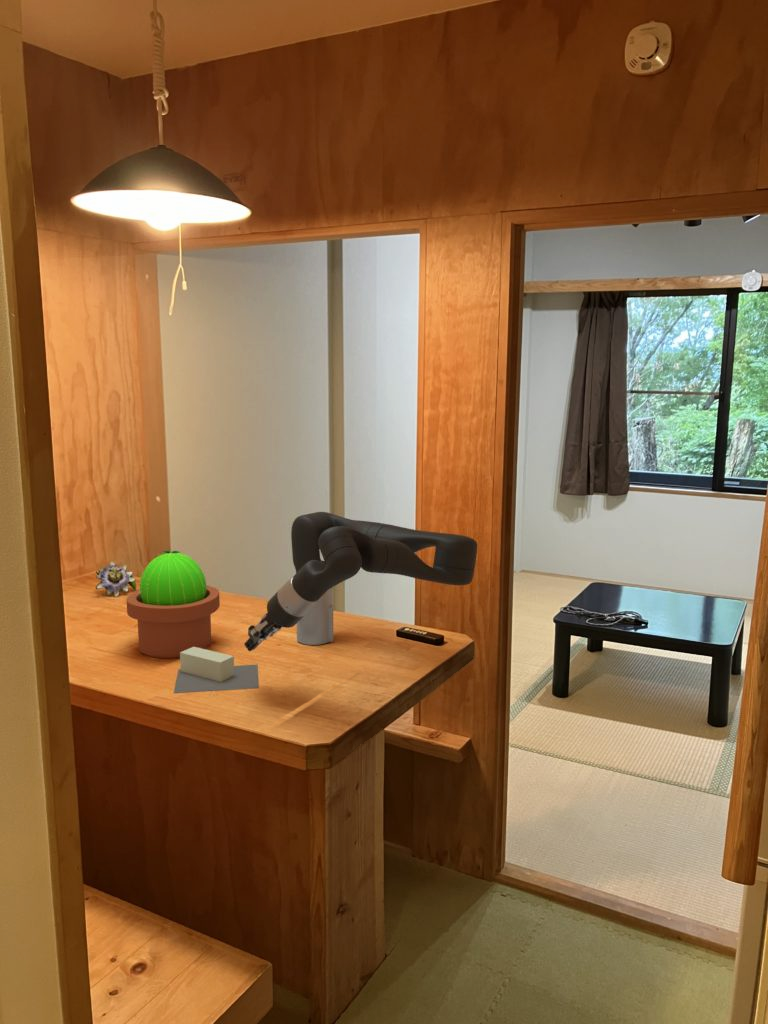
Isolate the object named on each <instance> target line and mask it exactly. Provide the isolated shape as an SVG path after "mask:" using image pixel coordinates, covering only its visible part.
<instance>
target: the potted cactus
mask: <svg viewBox="0 0 768 1024" xmlns="http://www.w3.org/2000/svg"><path fill="white" fill-rule="evenodd" d="M161 553H162V554H160V553H157V555H158V556H157V557H155V556H152V557H153V559H152V560H151V561H149V562H148V565H147V566H144V570H143V572H142V573H141V577H140V580H139V583H138V585H139V589H136V590H135V591H132V593H130V594H129V595H128V596H127V597H126V613H127V616H129V618H132V619H134V620H137V632H138V633H137V634H138V635H137V636H138V637H137V638H138V649H139V651H140V652H141V654H143V655H145V656H148V657H153V658H160V659H177V658H178V659H180V652H182V651H185V650H187V649H189V648H192V647H197V648H202V649H206V648H209V647H210V646H211V644H212V619H211V615H212V614H214V613H216V612H217V610H219V608H220V604H221V602H220V600H221V599H220V591H219V589H217V588H216V587H215V586H211V585H207V581H206V577H205V575H204V574H205V572H204V570H203V569H202V568H201V563H198V562H196V560H194V557H193V558H192V557H191V556H190V555H187V554H184V553H182V551H178V550H172V551H170V550H163V551H161Z"/></svg>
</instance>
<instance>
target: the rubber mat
mask: <svg viewBox="0 0 768 1024" xmlns="http://www.w3.org/2000/svg"><path fill="white" fill-rule="evenodd" d="M259 683H260V682H259V666H258V664H257V663H256V664H244V665H243V664H242V665H234V676H232V677H230V678H228V679H226V680H224V681H222V682H220V681H216V680H212V679H208V678H204V677H201V676H197V675H193V674H189V673H185V672H182V671H181V668H178V669H177V675H176V680H175V685H174V689H173V694H185V693H187V694H188V693H201V692H202V693H204V692H205V693H206V692H219V691H234V690H237V691H238V690H248V689H249V690H250V689H254V690H255V689H260V684H259Z"/></svg>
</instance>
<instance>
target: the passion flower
mask: <svg viewBox="0 0 768 1024" xmlns="http://www.w3.org/2000/svg"><path fill="white" fill-rule="evenodd" d="M127 567H128V566H127V564H124V565H121V566H118V565H117V564H115V562H114V561H110V563H109V564H108V565H107V566H106V567H104V568H98V570H95V574H96V576H95V578H96V579H99V580H100V582H99V583H97V585H96V586H95V589H96V590H100V589H103V588H104V589H105V593H106V595H107V596H110V595H113V596H114V598H117V597H118V596H119V594H120V591H121V590H122V591H123V592H127V593H128V591H129V587H128V585H129V586H130V587H131V588H132V590H133V591H134V590H135V591H137V583H136V580H137V579H136V578H135V577H134V576H133V571H127V570H126V569H127Z"/></svg>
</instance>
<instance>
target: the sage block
mask: <svg viewBox="0 0 768 1024" xmlns="http://www.w3.org/2000/svg"><path fill="white" fill-rule="evenodd" d="M179 662H180V663H179V664H180V667H179V669H181V671H182V672H185V673H189V674H193V675H197V676H201V677H204V678H208V679H212V680H216V681H220V682H222V681H224V680H226V679H228V678H230V677H232V676H234V666H235V656H234V655H230V654H226V653H221V652H219V651H218V652H217V651H214V650H210V649H206V648H204V649H202V648H197V647H192V648H189V649H187V650H185V651H182V652H180V658H179Z"/></svg>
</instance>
